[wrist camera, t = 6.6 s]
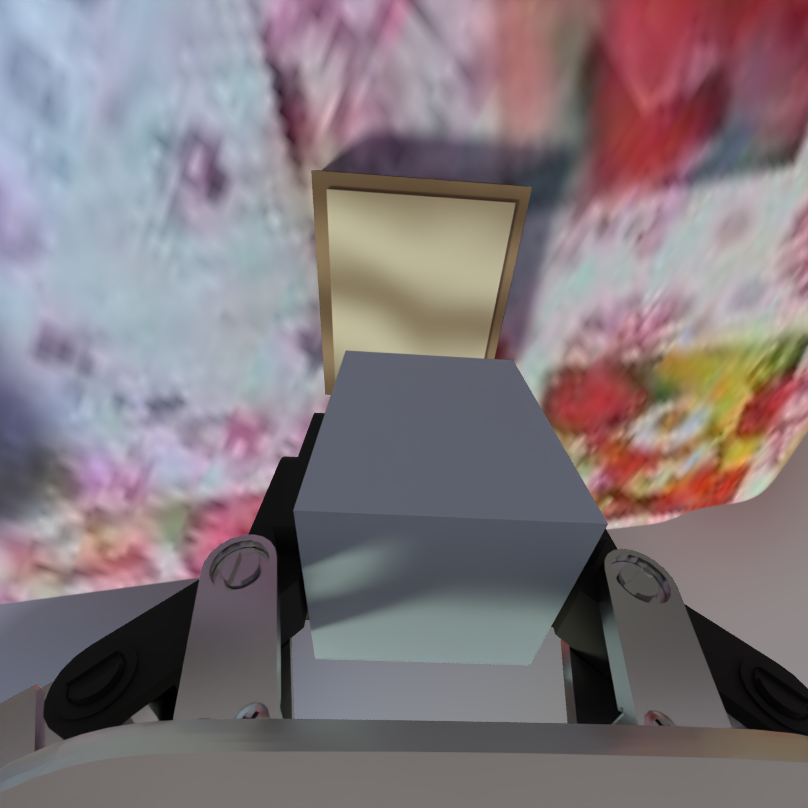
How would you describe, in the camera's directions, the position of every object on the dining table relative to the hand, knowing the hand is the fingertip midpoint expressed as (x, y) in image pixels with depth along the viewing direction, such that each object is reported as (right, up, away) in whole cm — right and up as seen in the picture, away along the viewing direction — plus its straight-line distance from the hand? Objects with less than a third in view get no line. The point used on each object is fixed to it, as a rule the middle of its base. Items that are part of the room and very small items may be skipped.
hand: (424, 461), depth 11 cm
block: (0, +1, +1) cm, 2 cm away
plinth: (0, +10, +15) cm, 18 cm away
